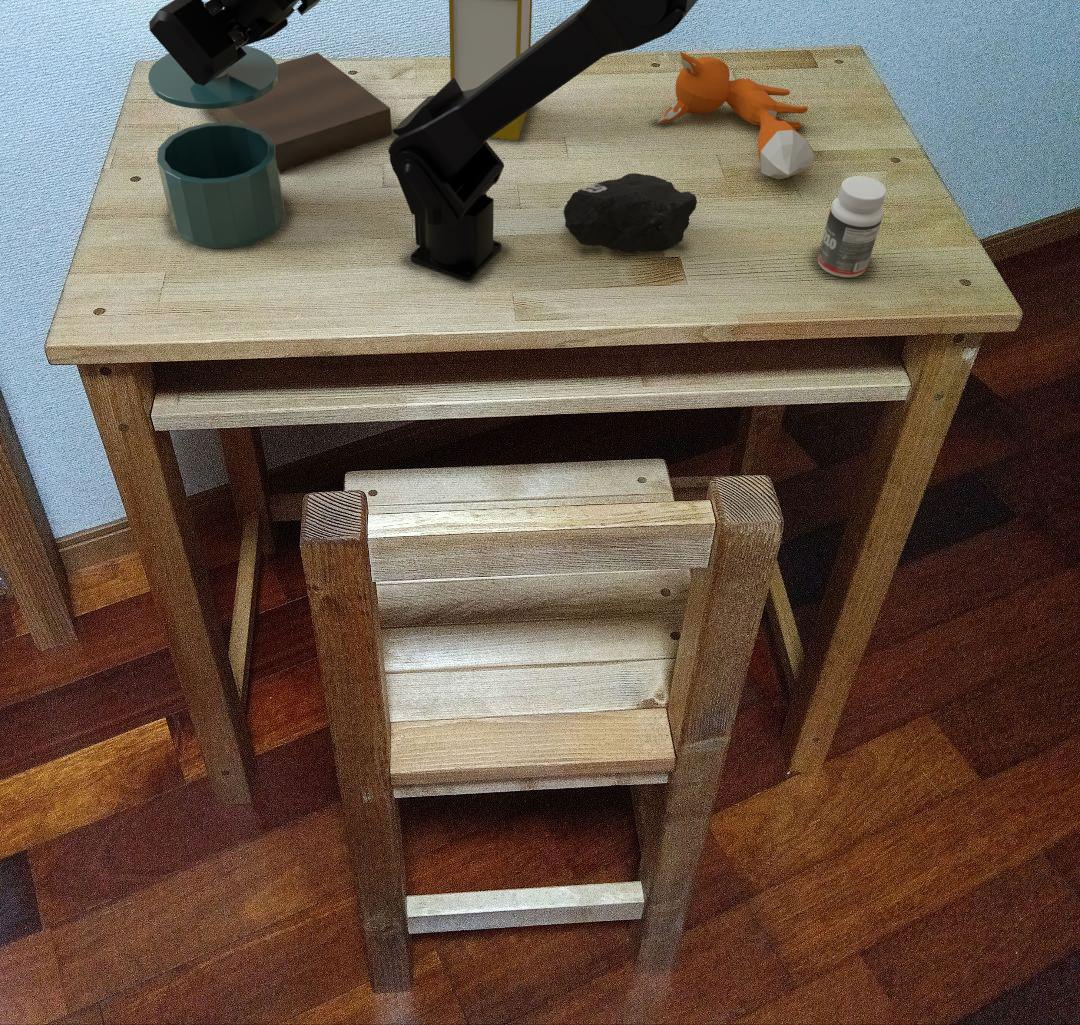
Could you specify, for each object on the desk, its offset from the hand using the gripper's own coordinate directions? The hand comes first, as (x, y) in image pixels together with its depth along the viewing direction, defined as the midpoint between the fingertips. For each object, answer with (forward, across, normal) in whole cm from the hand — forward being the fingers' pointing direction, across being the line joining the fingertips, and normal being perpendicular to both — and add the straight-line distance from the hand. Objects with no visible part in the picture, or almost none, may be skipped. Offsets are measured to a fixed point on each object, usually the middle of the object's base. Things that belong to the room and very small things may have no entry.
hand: (199, 57), depth 104 cm
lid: (0, 0, +2) cm, 2 cm away
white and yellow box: (-4, -22, +23) cm, 32 cm away
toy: (-22, -33, +41) cm, 57 cm away
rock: (-18, -11, +37) cm, 43 cm away
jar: (+7, +4, +12) cm, 14 cm away
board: (+9, -14, +9) cm, 19 cm away
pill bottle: (-32, -16, +52) cm, 63 cm away
